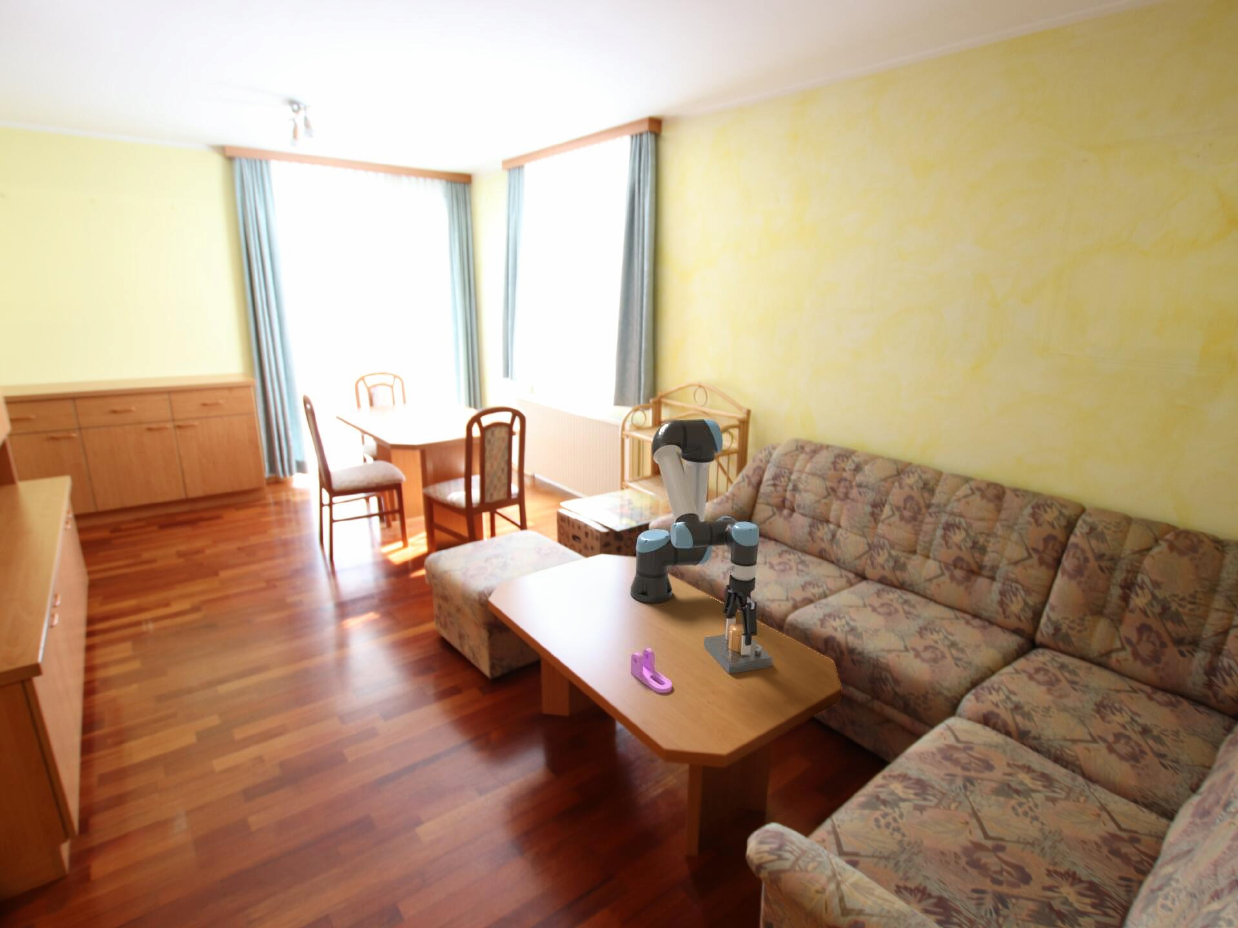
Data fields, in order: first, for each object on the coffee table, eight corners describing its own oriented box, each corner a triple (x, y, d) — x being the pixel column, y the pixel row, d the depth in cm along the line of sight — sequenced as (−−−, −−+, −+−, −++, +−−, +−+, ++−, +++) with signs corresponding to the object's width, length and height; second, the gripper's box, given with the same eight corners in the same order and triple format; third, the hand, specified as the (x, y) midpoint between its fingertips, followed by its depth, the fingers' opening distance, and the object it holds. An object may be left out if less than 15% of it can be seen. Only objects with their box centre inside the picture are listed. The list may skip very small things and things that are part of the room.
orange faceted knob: (725, 644, 195) (726, 625, 194) (740, 641, 197) (742, 623, 195) (733, 652, 190) (735, 633, 189) (749, 650, 192) (750, 631, 190)
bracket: (630, 673, 184) (631, 651, 182) (645, 667, 187) (646, 645, 186) (660, 695, 174) (661, 672, 172) (675, 688, 177) (676, 666, 176)
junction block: (703, 646, 199) (705, 625, 198) (744, 639, 204) (745, 619, 202) (728, 673, 185) (730, 651, 183) (771, 666, 189) (773, 644, 188)
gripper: (714, 562, 197) (709, 630, 202) (750, 592, 177) (744, 666, 182) (736, 560, 199) (731, 627, 204) (773, 589, 179) (767, 662, 185)
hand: (737, 645), depth 193 cm, fingers open, 9 cm apart
